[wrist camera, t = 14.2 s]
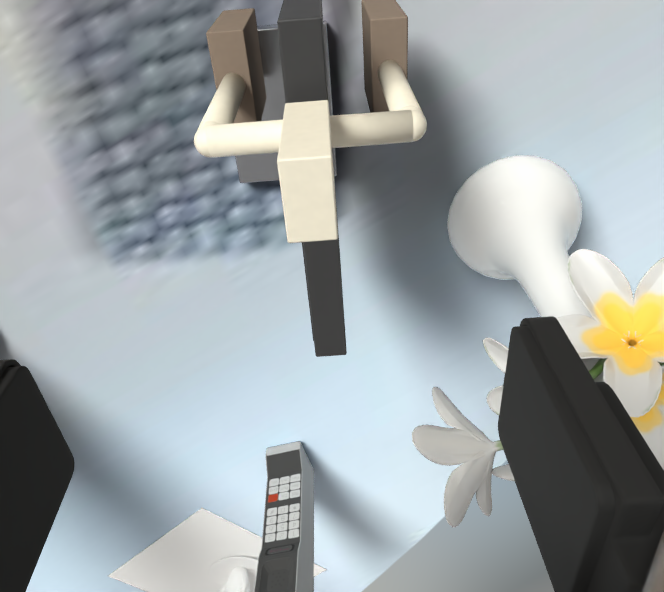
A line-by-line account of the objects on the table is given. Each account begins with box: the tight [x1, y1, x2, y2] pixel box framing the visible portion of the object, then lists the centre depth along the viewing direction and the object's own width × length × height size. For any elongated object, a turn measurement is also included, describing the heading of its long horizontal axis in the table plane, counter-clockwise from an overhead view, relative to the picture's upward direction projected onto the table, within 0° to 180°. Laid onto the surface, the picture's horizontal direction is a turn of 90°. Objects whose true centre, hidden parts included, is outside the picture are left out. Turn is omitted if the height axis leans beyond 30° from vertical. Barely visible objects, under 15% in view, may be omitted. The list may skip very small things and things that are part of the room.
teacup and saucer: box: [208, 556, 258, 592], centre depth 71 cm, size 9×8×4 cm
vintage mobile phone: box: [254, 441, 314, 592], centre depth 50 cm, size 4×5×25 cm
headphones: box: [194, 0, 427, 243], centre depth 25 cm, size 10×5×20 cm, turn 94°
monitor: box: [235, 0, 346, 357], centre depth 32 cm, size 7×16×17 cm, turn 4°
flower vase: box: [412, 155, 664, 527], centre depth 33 cm, size 13×18×25 cm
